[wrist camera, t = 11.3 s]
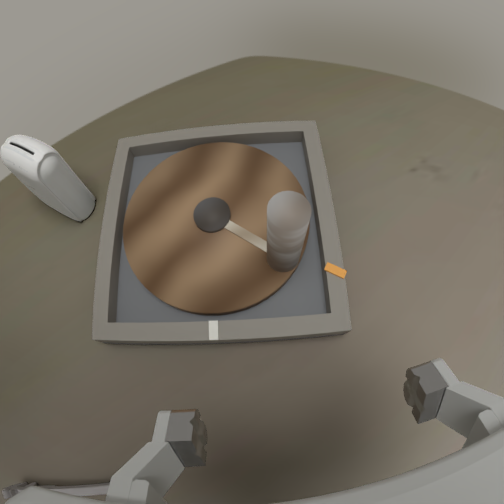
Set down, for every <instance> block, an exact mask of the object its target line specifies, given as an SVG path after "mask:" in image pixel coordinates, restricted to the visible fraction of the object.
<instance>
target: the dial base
mask: <svg viewBox="0 0 504 504" xmlns="http://www.w3.org/2000/svg"><path fill="white" fill-rule="evenodd" d="M217 142H229V143H238V144H244V145H248V146H252V147H255V148H257V149H260V150H262V151H265V152H266V153H268V154H270V155H272V156H274V157H275V158H276V159H278V160H279V161H280V162H282V163H283V164H284V165H285V166H286V167H287V168H288V169H289V170H290V171H291V172H292V173H293V175H294V176H295V177H296V178H297V180H298V182H299V183H300V185H301V187H302V189H303V191H304V194H305V196H306V199H307V200H308V201H309V203H310V205H311V210H312V211H311V217H310V227H309V235H308V240H307V244H306V247H305V250H304V253H303V256H302V259H301V261H300V263H299V265H298V267H297V269H296V270H295V272H294V273H293V275H292V276H291V277H290V279H289V280H288V281H287V282H286V283H285V284H284V285H283V286H282V288H281V289H280V290H278V291H277V292H276V293H275V294H273V295H272V296H271V297H270V298H268V299H266V300H265V301H263V302H261V303H260V304H258V305H256V306H254V307H251V308H249V309H247V310H244V311H240V312H237V313H233V314H227V315H219V316H205V315H198V314H192V313H188V312H185V311H181V310H179V309H176V308H174V307H172V306H170V305H168V304H166V303H165V302H163V301H162V300H160V299H159V298H157V297H156V296H155V295H153V294H152V293H151V292H150V291H149V290H148V289H146V288H145V287H144V285H143V284H142V283H141V282H140V281H139V280H138V278H137V277H136V275H135V274H134V272H133V270H132V269H131V267H130V264H129V262H128V260H127V257H126V253H125V249H124V242H123V224H124V218H125V214H126V210H127V207H128V204H129V202H130V200H131V197H132V195H133V194H134V192H135V190H136V189H137V187H138V185H139V184H140V183H141V182H142V180H143V179H144V178H145V177H146V176H147V175H148V173H149V172H150V171H151V170H152V169H154V168H155V167H156V166H157V165H158V164H160V163H161V162H162V161H164V160H165V159H167V158H168V157H170V156H172V155H174V154H176V153H178V152H180V151H182V150H185V149H187V148H190V147H194V146H197V145H201V144H207V143H217ZM346 272H347V271H346V270H344V266H343V259H342V252H341V246H340V240H339V234H338V228H337V222H336V217H335V211H334V206H333V200H332V195H331V190H330V185H329V180H328V175H327V170H326V165H325V161H324V156H323V152H322V147H321V143H320V138H319V134H318V130H317V125H316V121H278V122H258V123H242V124H229V125H218V126H207V127H198V128H189V129H181V130H173V131H166V132H159V133H152V134H146V135H139V136H133V137H128V138H122V139H119V141H118V145H117V149H116V154H115V158H114V163H113V167H112V172H111V177H110V182H109V187H108V193H107V198H106V204H105V210H104V216H103V223H102V229H101V237H100V244H99V252H98V261H97V270H96V280H95V292H94V306H93V324H92V340H95V341H99V342H103V343H108V344H151V345H179V344H223V343H246V342H263V341H279V340H292V339H304V338H315V337H325V336H335V335H344V334H345V333H347V332H349V331H351V330H352V328H351V319H350V311H349V302H348V294H347V287H346V280H345V275H346Z"/></svg>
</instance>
